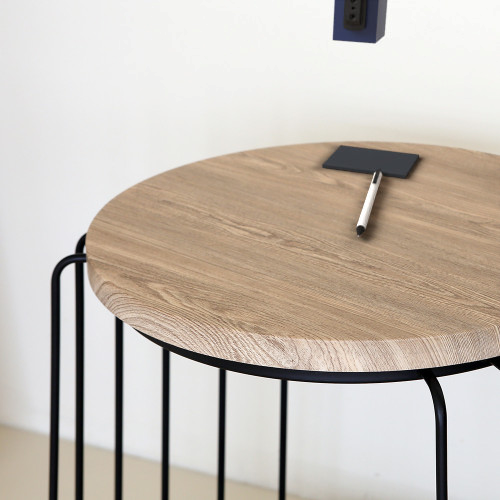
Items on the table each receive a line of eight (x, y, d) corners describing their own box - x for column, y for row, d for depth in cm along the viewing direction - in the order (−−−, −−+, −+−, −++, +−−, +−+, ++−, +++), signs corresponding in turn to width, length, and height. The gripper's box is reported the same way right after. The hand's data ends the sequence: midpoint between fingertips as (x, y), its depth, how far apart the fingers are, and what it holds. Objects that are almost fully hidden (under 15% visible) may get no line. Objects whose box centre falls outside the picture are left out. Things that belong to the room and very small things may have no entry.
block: (384, 35, 84) (389, -24, 82) (375, 43, 80) (380, -19, 78) (343, 32, 86) (346, -26, 83) (332, 40, 82) (335, -21, 79)
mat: (419, 157, 98) (419, 154, 98) (405, 178, 92) (405, 175, 91) (340, 148, 102) (340, 144, 101) (322, 167, 95) (322, 164, 95)
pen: (383, 174, 92) (383, 165, 92) (362, 241, 76) (363, 230, 75) (375, 173, 93) (376, 164, 92) (353, 240, 76) (353, 229, 75)
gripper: (397, -163, 68) (381, 41, 75) (425, -159, 80) (409, 17, 87) (312, -163, 70) (305, 35, 78) (351, -158, 82) (342, 12, 90)
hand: (360, 24), depth 82 cm, fingers closed on block, 4 cm apart
